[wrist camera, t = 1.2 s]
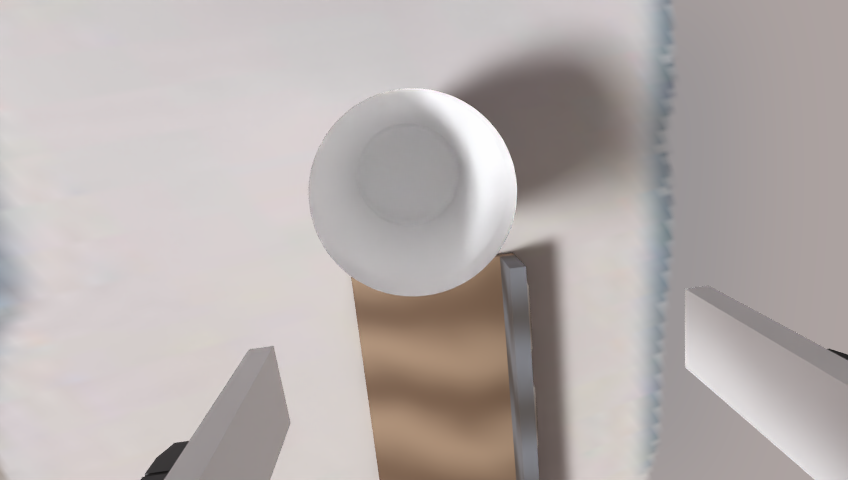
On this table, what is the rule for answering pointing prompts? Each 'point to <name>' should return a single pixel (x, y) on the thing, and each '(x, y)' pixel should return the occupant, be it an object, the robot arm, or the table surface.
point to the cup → (412, 192)
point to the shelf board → (452, 378)
